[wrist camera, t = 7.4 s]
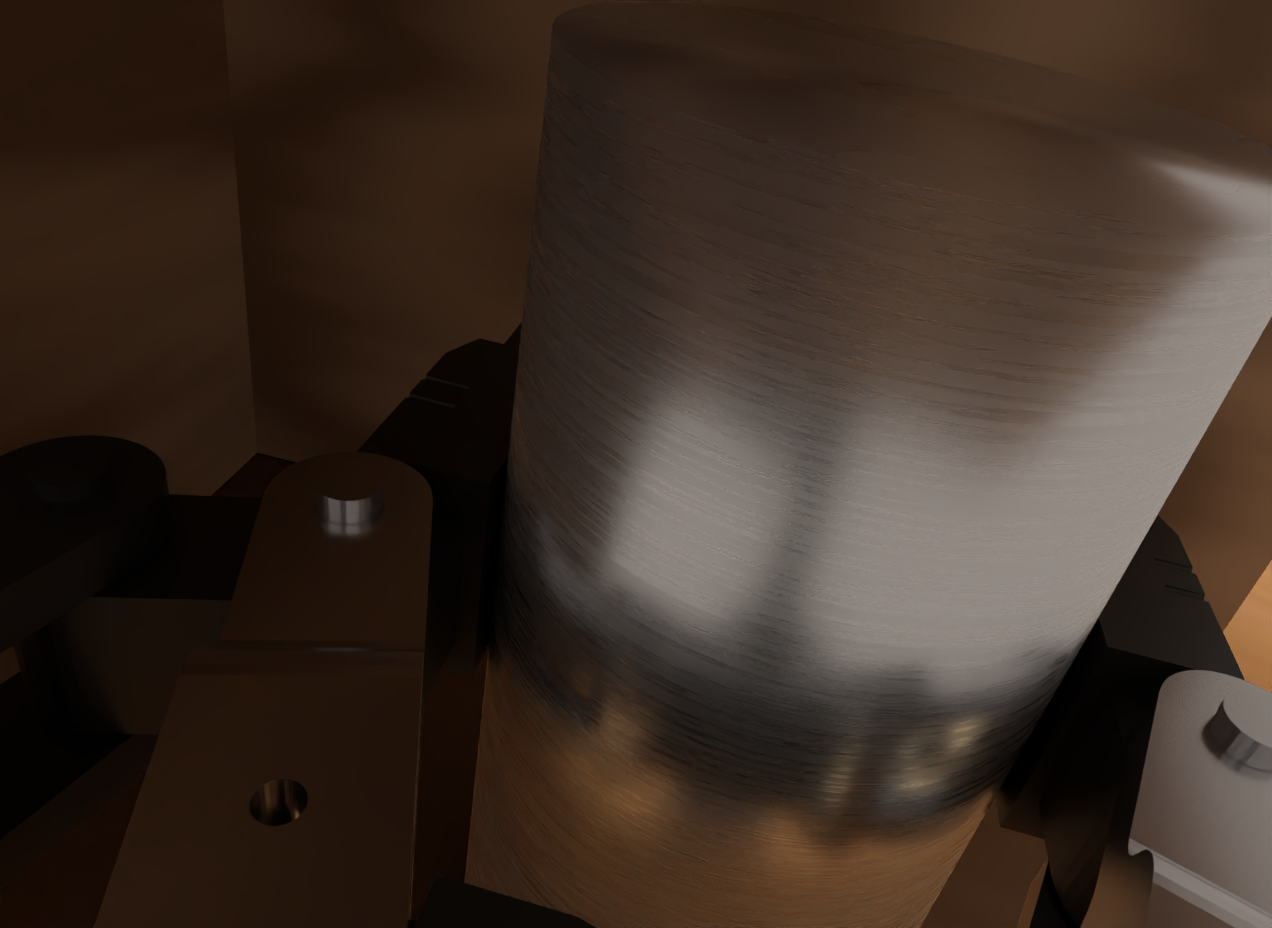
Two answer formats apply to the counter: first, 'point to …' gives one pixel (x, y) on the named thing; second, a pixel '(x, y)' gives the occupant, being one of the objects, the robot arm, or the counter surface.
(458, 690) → the counter surface
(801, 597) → the steel tin
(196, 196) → the walnut desk
